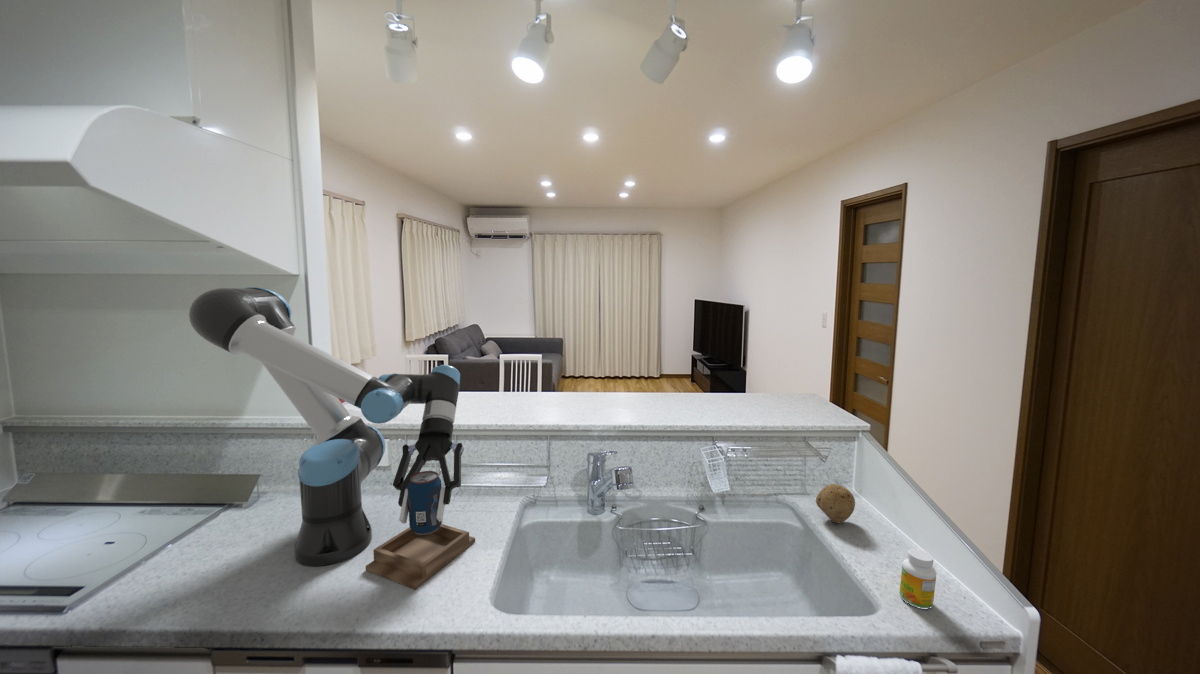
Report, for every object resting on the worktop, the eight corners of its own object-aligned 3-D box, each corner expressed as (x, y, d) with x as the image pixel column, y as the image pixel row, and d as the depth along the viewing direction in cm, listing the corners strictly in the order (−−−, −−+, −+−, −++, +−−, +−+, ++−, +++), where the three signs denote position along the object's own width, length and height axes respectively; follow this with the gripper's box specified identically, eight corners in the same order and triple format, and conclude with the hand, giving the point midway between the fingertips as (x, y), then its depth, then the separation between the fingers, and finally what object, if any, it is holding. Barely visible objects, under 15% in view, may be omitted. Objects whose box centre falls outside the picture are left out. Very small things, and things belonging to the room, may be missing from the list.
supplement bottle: (892, 591, 88) (897, 546, 87) (917, 590, 89) (922, 545, 87) (913, 611, 83) (918, 563, 82) (940, 610, 83) (945, 562, 82)
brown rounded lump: (809, 519, 115) (812, 483, 114) (822, 508, 121) (825, 474, 120) (846, 534, 108) (850, 496, 107) (858, 522, 114) (862, 485, 113)
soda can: (416, 519, 100) (413, 469, 99) (447, 518, 101) (445, 469, 99) (404, 537, 93) (401, 483, 92) (437, 536, 94) (435, 483, 92)
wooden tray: (365, 570, 92) (365, 554, 92) (430, 527, 109) (429, 514, 108) (415, 589, 87) (414, 573, 86) (475, 541, 103) (474, 527, 103)
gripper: (481, 428, 111) (471, 523, 97) (400, 431, 109) (378, 528, 95) (476, 414, 105) (466, 513, 91) (391, 417, 103) (366, 518, 89)
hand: (421, 520), depth 93 cm, fingers closed on soda can, 7 cm apart
